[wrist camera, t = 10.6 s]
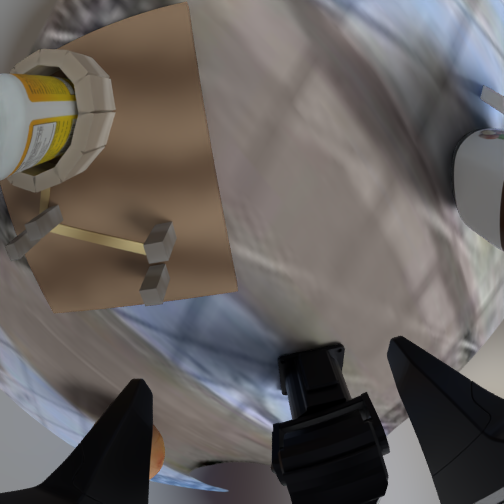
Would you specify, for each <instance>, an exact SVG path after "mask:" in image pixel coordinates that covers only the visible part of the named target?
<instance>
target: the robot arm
mask: <svg viewBox="0 0 504 504" xmlns="http://www.w3.org/2000/svg"><path fill="white" fill-rule="evenodd" d="M344 351H345V348H344V346H343V345H342V344H338V345H334V346H329V347H325V348H320V349H315V350H310V351H305V352H300V353H295V354H290V355H284V356H280V357H279V358H278V366H279V374H280V382H281V390H282V394H283V395H288V400H289V405H290V410H291V415H292V420H289V421H286V422H282V423H275V424H273V432H272V464H271V470H272V472H273V473H275V474H276V475H277V477H278V479H279V481H280V482H281V484H282V485H283V486H287V488H288V491H289V494H290V497H291V501H292V504H379V502H380V499H381V497H382V496H384V495H385V493H386V489H387V486H388V473H387V469H386V466H385V463H384V459H383V455H385V454H388V453H389V452H390V450H389V445H388V441H387V438H386V435H385V432H384V429H383V426H382V424H381V422H380V419H379V417H378V415H377V413H376V411H375V409H374V406H373V404H372V402H371V400H370V398H369V396H368V394H367V392H365V393H363V394H361V396H358V397H356V398H353V399H352V398H351V396H350V393H349V390H348V388H347V385H346V382H345V380H344V377H343V374H342V366H343V359H344ZM387 358H388V361H389V364H390V367H391V370H392V373H393V377H394V380H395V383H396V386H397V389H398V392H399V395H400V397H401V399H402V402H403V404H404V406H405V409H406V411H407V413H408V416H409V418H410V421H411V423H412V425H413V428H414V430H415V433H416V435H417V438H418V440H419V443H420V445H421V448H422V451H423V453H424V456H425V459H426V461H427V464H428V467H429V470H430V473H431V475H432V478H433V482H434V484H435V487H436V490H437V493H438V496H439V500H440V503H441V504H504V399H502V398H500V397H498V396H496V395H494V394H493V393H491V392H489V391H487V390H486V389H484V388H482V387H480V386H479V385H477V384H476V383H474V382H473V381H471V380H470V379H468V378H466V377H465V376H463V375H462V374H460V373H459V372H457V371H456V370H454V369H453V368H451V367H450V366H448V365H447V364H445V363H444V362H442V361H440V360H439V359H437V358H436V357H434V356H433V355H431V354H430V353H428V352H426V351H425V350H423V349H422V348H420V347H419V346H417V345H416V344H414V343H412V342H411V341H409V340H408V339H406V338H405V337H403V336H398V337H394V338H392V339H391V341H390V344H389V348H388V352H387ZM283 360H284V361H283ZM152 437H153V395H152V392H151V390H150V388H149V387H148V385H147V384H146V382H145V381H144V380H143V379H132V380H131V381H130V382H129V383H128V385H127V386H126V387H125V388H124V389H123V391H122V392H121V393H120V394H119V395H118V397H117V398H116V399H115V400H114V402H113V403H112V404H111V405H110V406H109V408H108V409H107V410H106V411H105V413H104V414H103V415H102V416H101V417H100V419H99V420H98V421H97V422H96V424H95V425H94V426H93V427H92V429H91V430H90V431H89V432H88V433H87V435H86V436H85V437H84V438H83V440H82V441H81V443H79V444H78V446H77V447H76V448H75V449H74V451H73V452H72V453H71V454H70V455H69V456H68V458H67V459H66V460H65V461H64V462H63V463H62V464H61V465H60V466H59V467H58V468H57V469H56V470H55V471H54V472H53V473H52V474H51V475H50V476H49V477H48V478H47V479H46V480H45V481H44V482H42V483H41V484H39V485H37V486H35V487H32V488H27V489H23V490H17V491H11V492H5V493H0V504H148V495H149V475H150V460H151V448H152Z"/></svg>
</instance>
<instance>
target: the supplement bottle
mask: <svg viewBox="0 0 504 504" xmlns="http://www.w3.org/2000/svg"><path fill="white" fill-rule="evenodd" d="M78 114H79V113H78V107H77V101H76V95H75V88H74V84H73V83H72V81H71V80H70V79H68V78H62V77H52V76H42V75H28V74H6V73H4V74H0V181H1V180H3V179H5V178H7V177H10V176H12V175H14V174H16V173H19V172H21V171H23V170H26V169H28V168H31V167H33V166H36V165H38V164H41V163H44V162H46V161H49V160H51V159H54V158H57V157H60V156H62V155H64V153H65V152H66V151H67V149H68V148H69V147H70V145H71V142H72V138H73V134H74V129H75V125H76V121H77V118H78Z"/></svg>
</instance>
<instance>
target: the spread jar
mask: <svg viewBox="0 0 504 504" xmlns="http://www.w3.org/2000/svg"><path fill="white" fill-rule="evenodd" d="M480 99H481V100H483V101H484V102H486V103H487V104H489V105H490V106H492V107H493V108H495V109H496V110H498V111H500V112H501V113H503V114H504V96H502V95H500V94H499V93H497V92H495V91H493V90H492V89H490V88H488V87H486V86H484V85H483V89H482V93H481V97H480ZM451 182H452V190H453V196H454V200H455V204H456V207H457V210H458V212H459V215H460V217H461V219H462V220H463V221H464V223H465V224H466V225H467V226H468V227H469V228H471V229H472V230H473V231H475V232H476V233H477V234H479V235H480V236H482V237H483V238H484V239H486V240H487V241H488V242H490V243H491V244H493V245H494V246H496V247H497V248H498V249H500V250H502V251H504V129H494V128H491V129H478V130H474V131H471V132H469V133H468V134H466V135H465V136H464V137H463V138H462V139H461V140H460V141H459V143H458V144H457V146H456V148H455V151H454V154H453V158H452V167H451Z"/></svg>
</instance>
